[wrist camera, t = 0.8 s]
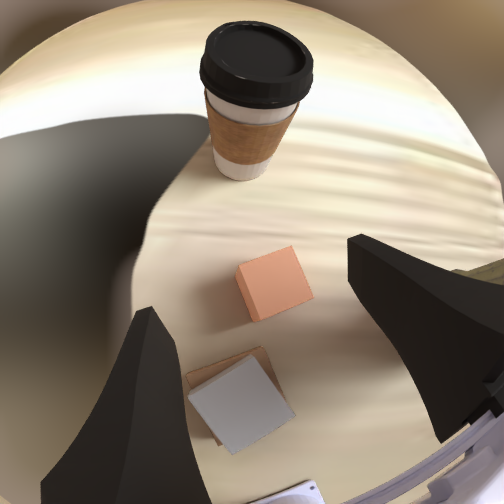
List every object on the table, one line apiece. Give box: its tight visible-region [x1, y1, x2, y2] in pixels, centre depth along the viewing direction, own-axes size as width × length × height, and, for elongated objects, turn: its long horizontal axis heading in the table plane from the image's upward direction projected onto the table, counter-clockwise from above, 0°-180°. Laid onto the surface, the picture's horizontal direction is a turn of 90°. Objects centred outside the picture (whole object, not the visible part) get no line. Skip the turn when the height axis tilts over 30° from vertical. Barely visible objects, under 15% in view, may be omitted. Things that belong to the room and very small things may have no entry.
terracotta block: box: [235, 246, 314, 322], centre depth 25 cm, size 4×4×5 cm
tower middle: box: [187, 354, 296, 455], centre depth 21 cm, size 6×6×2 cm
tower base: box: [186, 346, 287, 446], centre depth 24 cm, size 7×7×2 cm
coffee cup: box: [199, 21, 313, 181], centre depth 23 cm, size 8×8×15 cm
